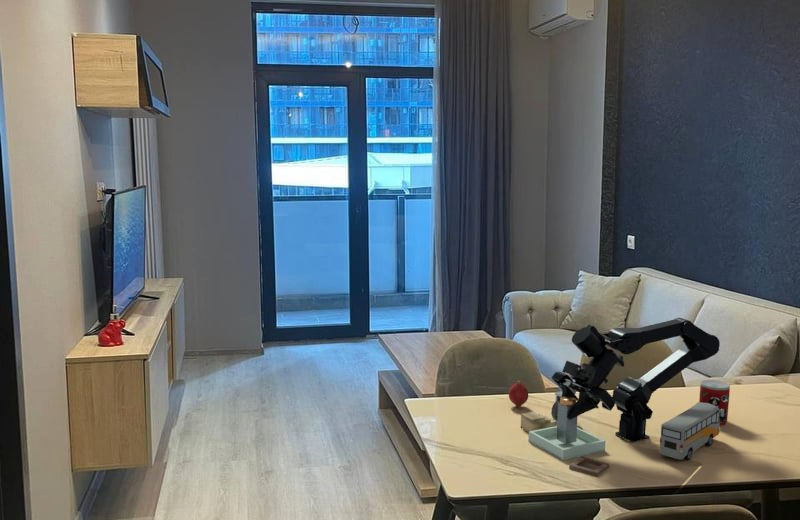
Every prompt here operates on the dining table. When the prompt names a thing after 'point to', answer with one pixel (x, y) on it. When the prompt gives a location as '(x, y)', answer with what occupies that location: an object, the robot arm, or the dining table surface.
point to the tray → (581, 447)
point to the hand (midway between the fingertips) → (563, 416)
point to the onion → (518, 394)
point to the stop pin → (566, 421)
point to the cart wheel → (556, 405)
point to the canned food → (716, 396)
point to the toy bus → (690, 431)
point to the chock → (536, 421)
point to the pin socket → (589, 466)
